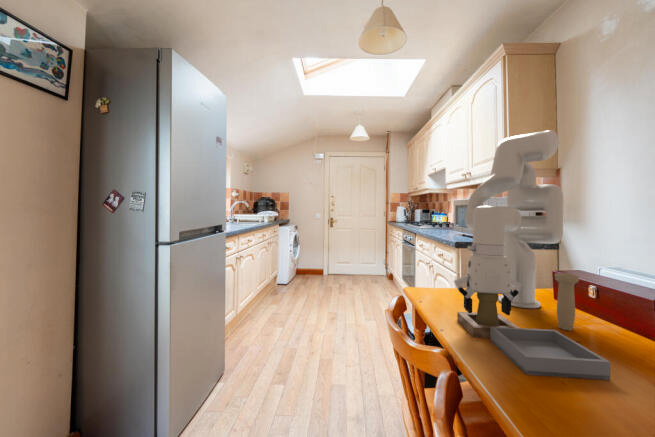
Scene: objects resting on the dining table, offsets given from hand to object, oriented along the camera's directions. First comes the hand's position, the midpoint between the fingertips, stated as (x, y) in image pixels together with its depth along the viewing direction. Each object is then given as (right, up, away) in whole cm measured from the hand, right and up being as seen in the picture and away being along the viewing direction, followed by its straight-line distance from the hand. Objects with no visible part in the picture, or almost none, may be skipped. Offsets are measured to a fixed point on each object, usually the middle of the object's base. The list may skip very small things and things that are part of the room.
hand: (486, 312), depth 77 cm
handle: (+22, -5, +1) cm, 23 cm away
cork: (0, -5, 0) cm, 5 cm away
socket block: (0, -5, 0) cm, 5 cm away
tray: (+4, -5, -15) cm, 16 cm away
